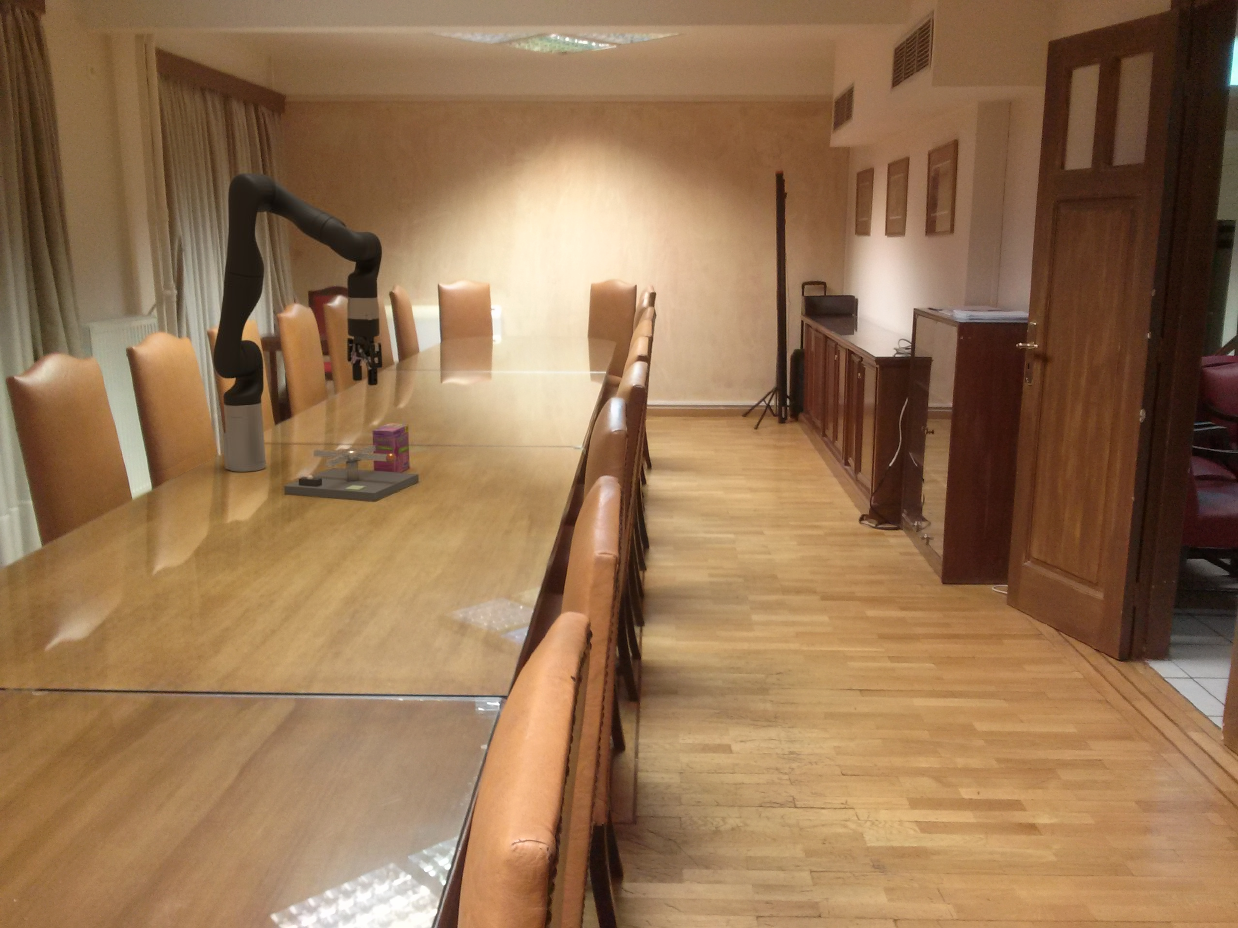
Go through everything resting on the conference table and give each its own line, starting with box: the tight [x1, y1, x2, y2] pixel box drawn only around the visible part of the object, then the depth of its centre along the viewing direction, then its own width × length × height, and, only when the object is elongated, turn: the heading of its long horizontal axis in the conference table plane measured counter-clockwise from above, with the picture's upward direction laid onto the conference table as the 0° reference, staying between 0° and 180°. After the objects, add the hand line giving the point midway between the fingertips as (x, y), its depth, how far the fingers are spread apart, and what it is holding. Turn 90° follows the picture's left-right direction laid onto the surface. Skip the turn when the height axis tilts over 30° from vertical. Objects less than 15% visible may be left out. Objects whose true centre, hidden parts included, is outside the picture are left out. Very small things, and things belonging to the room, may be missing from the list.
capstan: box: [313, 444, 396, 468], centre depth 259 cm, size 22×20×2 cm
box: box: [372, 422, 411, 473], centre depth 277 cm, size 10×6×12 cm, turn 168°
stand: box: [284, 461, 420, 502], centre depth 260 cm, size 24×21×6 cm
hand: (365, 382), depth 264 cm, fingers open, 8 cm apart
